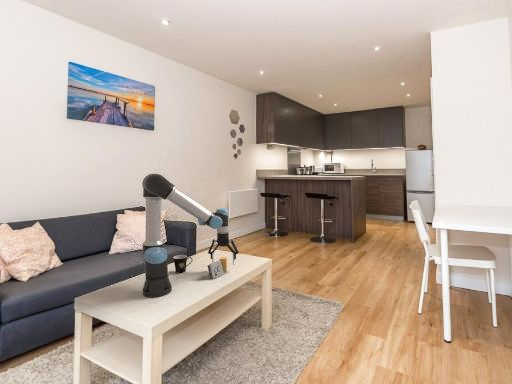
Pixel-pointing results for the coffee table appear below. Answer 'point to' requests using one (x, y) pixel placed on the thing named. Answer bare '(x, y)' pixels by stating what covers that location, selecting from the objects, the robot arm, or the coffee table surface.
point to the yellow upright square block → (224, 262)
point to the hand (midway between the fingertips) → (223, 264)
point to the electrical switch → (215, 269)
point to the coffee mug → (180, 263)
